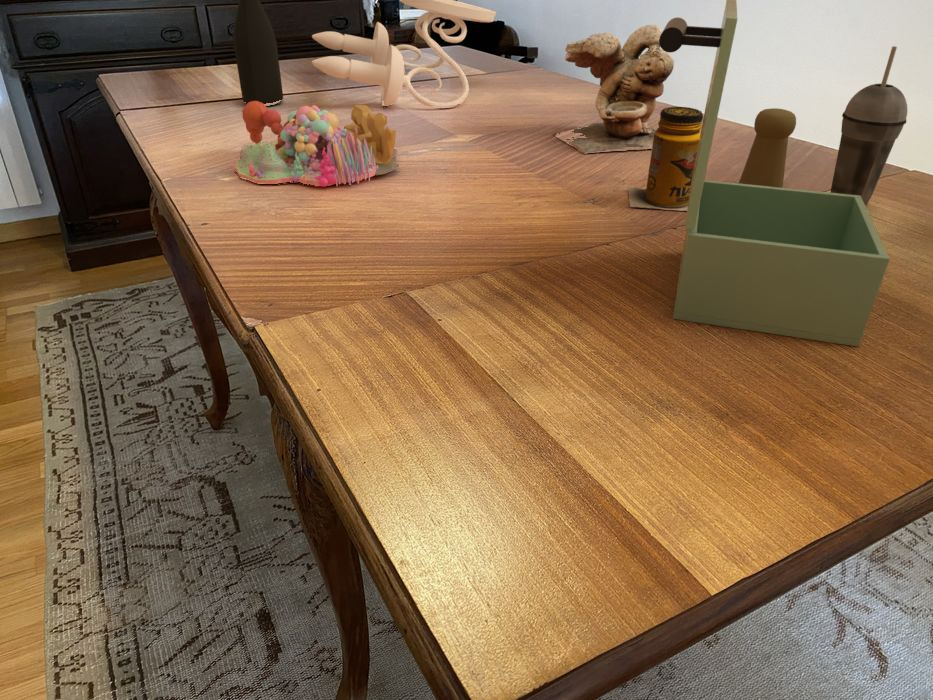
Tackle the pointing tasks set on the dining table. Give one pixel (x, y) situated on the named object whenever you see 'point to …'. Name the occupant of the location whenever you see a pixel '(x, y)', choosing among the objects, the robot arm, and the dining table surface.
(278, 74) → the wine bottle
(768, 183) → the brown knobbed peg
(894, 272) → the dining table surface
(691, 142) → the condiment
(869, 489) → the dining table surface
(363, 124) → the pastel sphere sculpture
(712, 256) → the bin
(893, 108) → the beverage cup
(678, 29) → the bin lid
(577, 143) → the cherub figurine
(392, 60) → the candelabra
